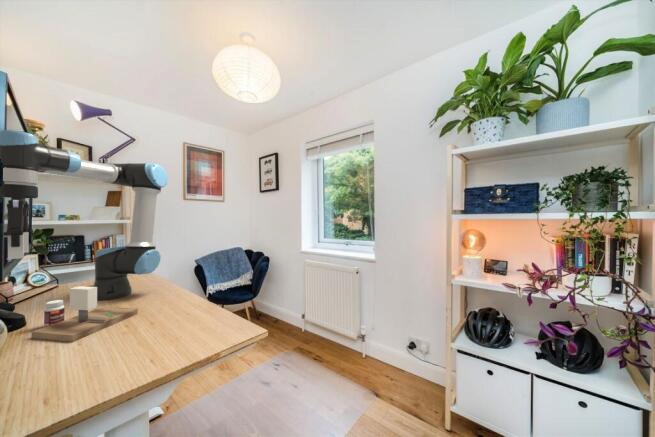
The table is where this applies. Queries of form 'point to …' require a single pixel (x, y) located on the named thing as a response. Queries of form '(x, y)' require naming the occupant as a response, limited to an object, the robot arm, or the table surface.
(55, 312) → the pill bottle
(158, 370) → the table surface
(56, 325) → the board
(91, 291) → the white boxy piece
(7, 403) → the table surface
